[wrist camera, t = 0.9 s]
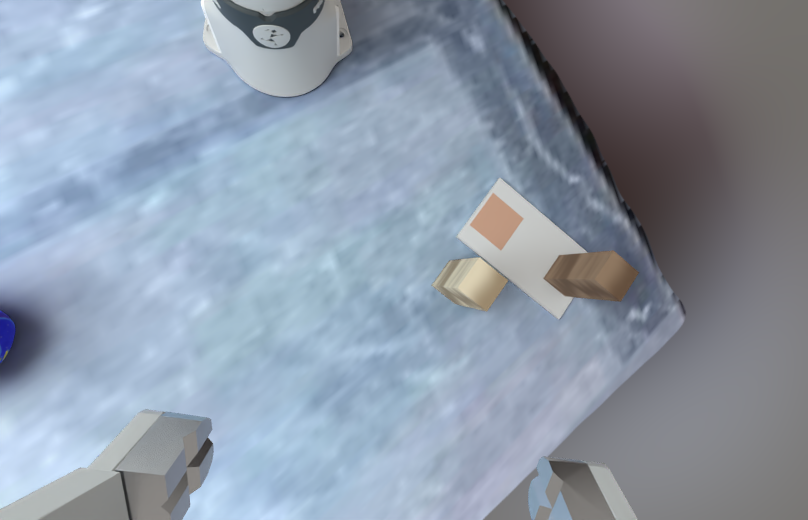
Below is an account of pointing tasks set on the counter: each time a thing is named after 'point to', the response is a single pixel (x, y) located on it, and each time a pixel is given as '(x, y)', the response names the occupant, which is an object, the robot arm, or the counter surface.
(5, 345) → the ornament
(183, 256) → the counter surface
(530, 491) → the robot arm
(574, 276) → the walnut pillar
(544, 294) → the white mat
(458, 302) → the birch pillar
